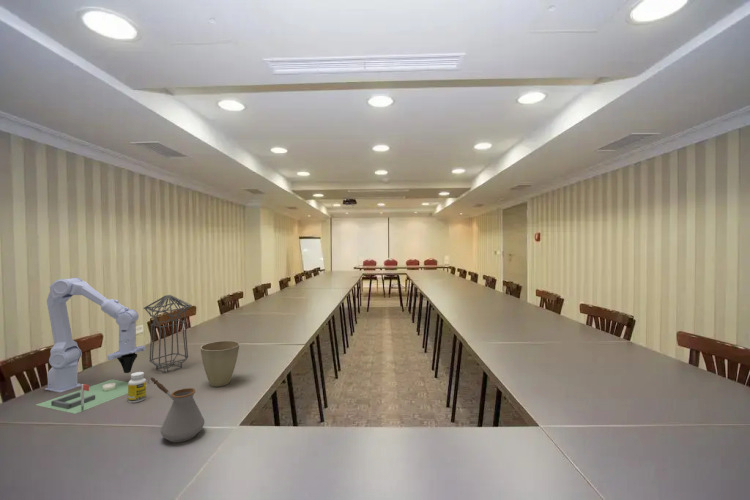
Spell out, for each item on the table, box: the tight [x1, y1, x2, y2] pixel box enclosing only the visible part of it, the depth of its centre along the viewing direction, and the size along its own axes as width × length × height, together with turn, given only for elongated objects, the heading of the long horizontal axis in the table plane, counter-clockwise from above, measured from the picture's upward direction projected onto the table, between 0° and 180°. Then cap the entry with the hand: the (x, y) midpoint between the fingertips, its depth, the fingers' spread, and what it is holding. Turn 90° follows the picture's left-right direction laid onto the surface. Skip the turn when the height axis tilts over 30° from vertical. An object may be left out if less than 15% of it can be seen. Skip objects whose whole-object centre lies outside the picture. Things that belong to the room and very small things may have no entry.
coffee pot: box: [147, 377, 205, 443], centre depth 105 cm, size 21×12×15 cm, turn 65°
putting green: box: [35, 379, 148, 415], centre depth 131 cm, size 21×26×1 cm
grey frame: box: [51, 383, 95, 412], centre depth 123 cm, size 18×8×9 cm, turn 72°
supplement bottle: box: [127, 371, 147, 404], centre depth 127 cm, size 5×5×10 cm
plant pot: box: [200, 340, 240, 387], centre depth 143 cm, size 15×15×16 cm
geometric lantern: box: [143, 294, 193, 373], centre depth 161 cm, size 16×16×35 cm
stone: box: [103, 383, 116, 392], centre depth 136 cm, size 4×4×2 cm
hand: (127, 372), depth 142 cm, fingers closed
